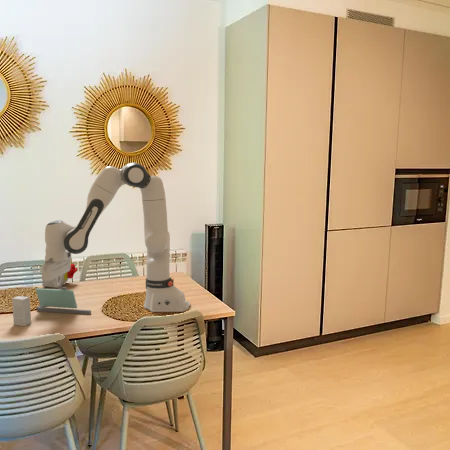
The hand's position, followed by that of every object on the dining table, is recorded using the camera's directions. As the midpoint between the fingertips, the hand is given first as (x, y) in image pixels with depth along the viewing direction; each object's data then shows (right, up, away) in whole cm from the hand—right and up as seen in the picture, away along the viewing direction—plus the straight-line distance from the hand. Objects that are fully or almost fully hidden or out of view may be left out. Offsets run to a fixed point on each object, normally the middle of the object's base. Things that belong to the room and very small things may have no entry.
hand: (57, 285), depth 214 cm
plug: (-3, -11, +19) cm, 22 cm away
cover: (-1, -6, +4) cm, 7 cm away
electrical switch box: (-15, -6, +49) cm, 52 cm away
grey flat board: (+2, -12, +10) cm, 16 cm away
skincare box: (-12, -16, -10) cm, 22 cm away
